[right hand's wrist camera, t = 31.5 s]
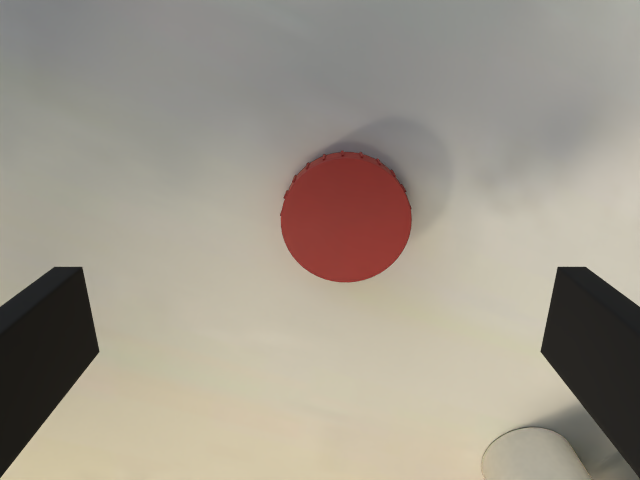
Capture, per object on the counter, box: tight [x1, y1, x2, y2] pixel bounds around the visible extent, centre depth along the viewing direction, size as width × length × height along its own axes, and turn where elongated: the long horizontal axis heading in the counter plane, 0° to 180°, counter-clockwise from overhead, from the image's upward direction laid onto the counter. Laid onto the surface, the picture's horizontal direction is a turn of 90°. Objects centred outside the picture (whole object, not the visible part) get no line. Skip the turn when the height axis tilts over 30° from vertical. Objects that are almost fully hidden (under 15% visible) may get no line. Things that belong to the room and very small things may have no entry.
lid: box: [280, 151, 411, 282], centre depth 22 cm, size 6×6×2 cm
